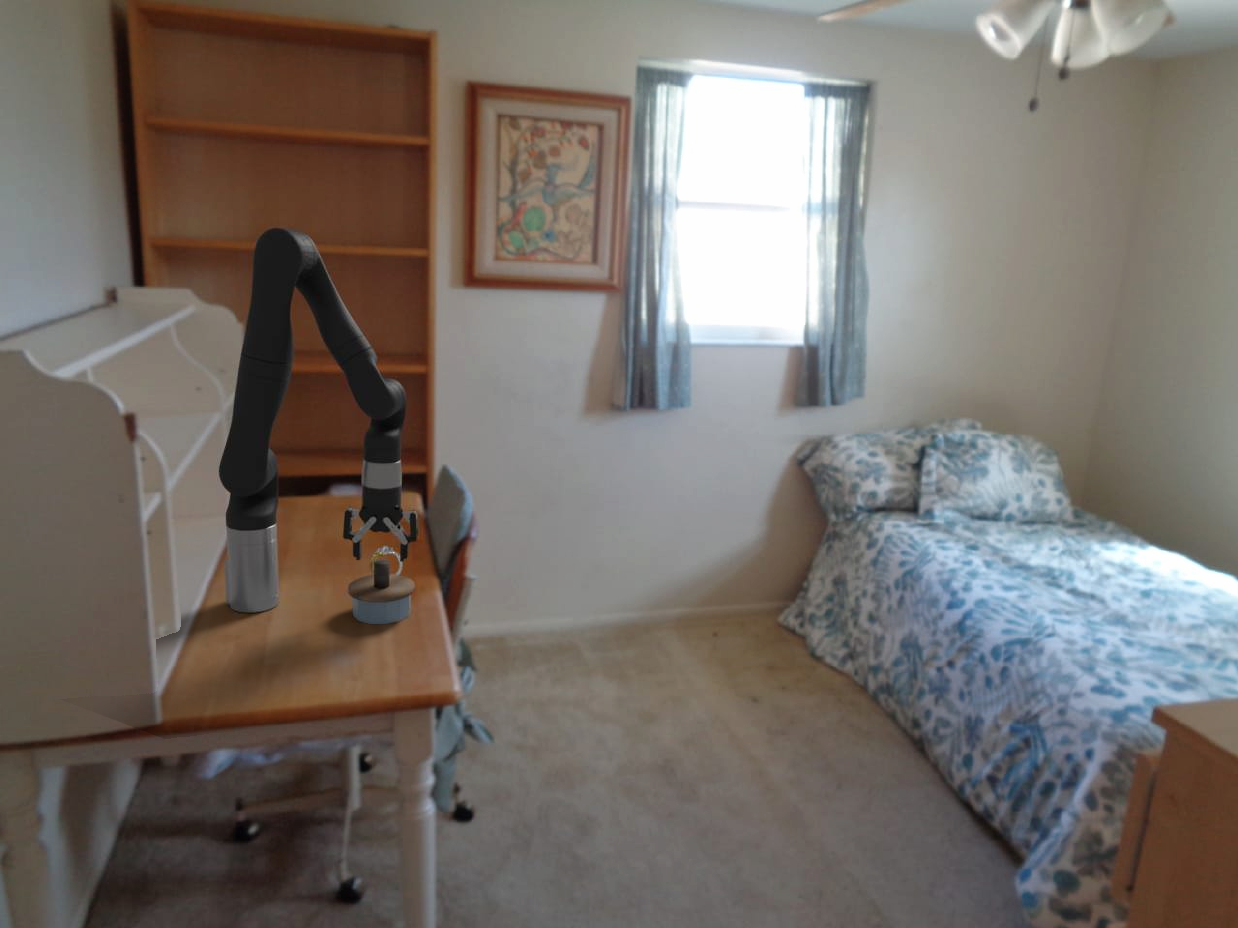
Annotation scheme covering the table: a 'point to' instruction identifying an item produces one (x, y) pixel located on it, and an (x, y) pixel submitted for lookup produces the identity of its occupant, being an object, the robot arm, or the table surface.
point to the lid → (381, 585)
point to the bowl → (381, 611)
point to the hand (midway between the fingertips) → (380, 559)
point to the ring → (381, 552)
